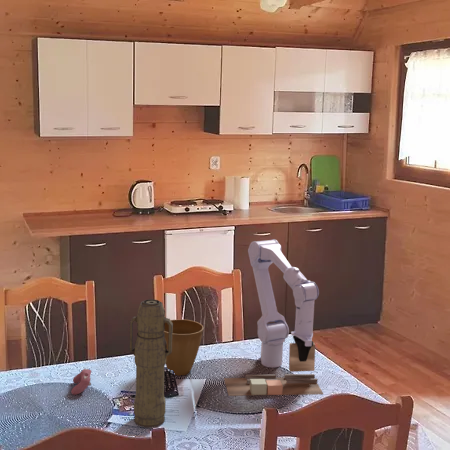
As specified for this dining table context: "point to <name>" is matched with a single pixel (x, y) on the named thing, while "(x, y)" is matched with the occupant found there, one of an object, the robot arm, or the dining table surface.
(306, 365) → the birch sheet
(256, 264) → the robot arm
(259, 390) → the offcut sage
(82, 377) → the red curved piece
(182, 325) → the plant pot
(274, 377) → the walnut rack
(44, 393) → the dining table surface
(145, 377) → the thermos
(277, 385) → the offcut terracotta
